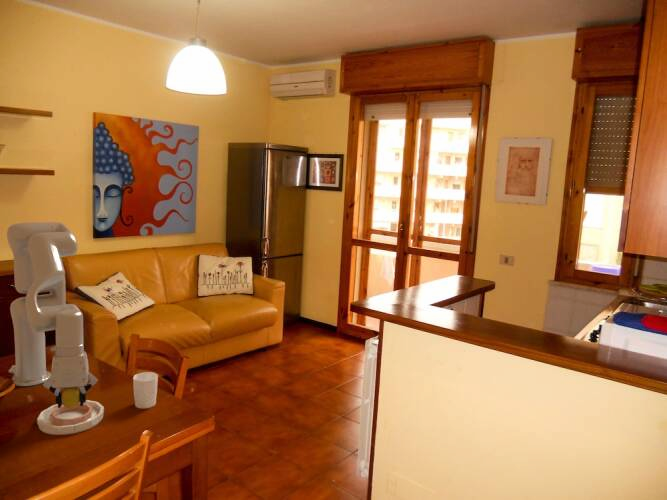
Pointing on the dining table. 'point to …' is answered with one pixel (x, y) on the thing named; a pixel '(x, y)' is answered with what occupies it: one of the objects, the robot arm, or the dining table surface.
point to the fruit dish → (70, 418)
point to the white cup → (145, 389)
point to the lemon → (70, 397)
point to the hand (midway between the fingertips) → (71, 404)
